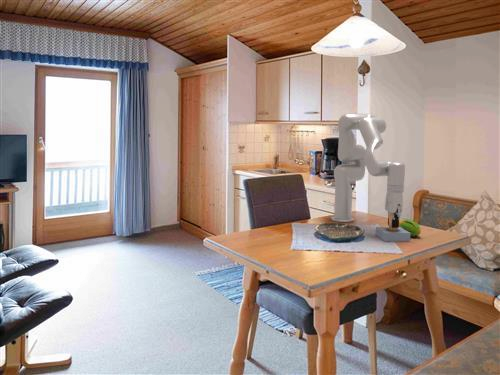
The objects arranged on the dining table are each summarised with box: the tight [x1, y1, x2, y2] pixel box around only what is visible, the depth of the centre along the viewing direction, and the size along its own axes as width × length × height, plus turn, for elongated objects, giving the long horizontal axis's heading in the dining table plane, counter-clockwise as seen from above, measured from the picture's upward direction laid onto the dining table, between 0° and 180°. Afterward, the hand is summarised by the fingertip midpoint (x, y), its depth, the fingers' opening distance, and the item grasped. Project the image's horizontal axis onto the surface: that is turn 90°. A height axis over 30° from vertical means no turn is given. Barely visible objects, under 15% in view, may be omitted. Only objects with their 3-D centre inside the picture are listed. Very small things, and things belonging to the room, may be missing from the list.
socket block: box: [375, 226, 411, 243], centre depth 203 cm, size 12×12×4 cm
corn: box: [399, 218, 422, 238], centre depth 212 cm, size 7×8×20 cm
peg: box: [388, 212, 397, 232], centre depth 202 cm, size 4×4×12 cm
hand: (393, 226), depth 203 cm, fingers closed on peg, 4 cm apart
